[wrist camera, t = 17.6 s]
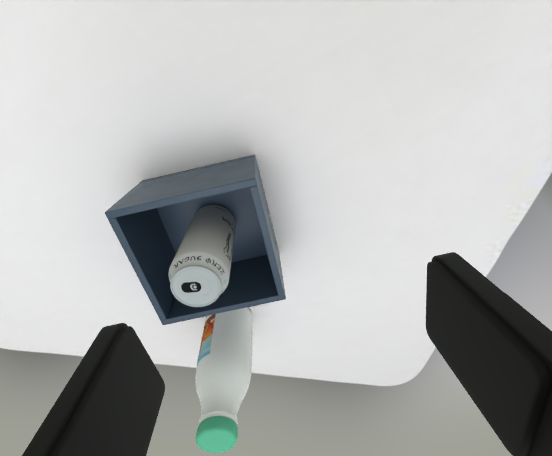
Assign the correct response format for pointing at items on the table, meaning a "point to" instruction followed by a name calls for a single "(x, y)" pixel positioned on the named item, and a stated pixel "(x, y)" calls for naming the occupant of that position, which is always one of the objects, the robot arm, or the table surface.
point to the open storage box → (175, 221)
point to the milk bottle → (223, 377)
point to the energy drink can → (204, 257)
